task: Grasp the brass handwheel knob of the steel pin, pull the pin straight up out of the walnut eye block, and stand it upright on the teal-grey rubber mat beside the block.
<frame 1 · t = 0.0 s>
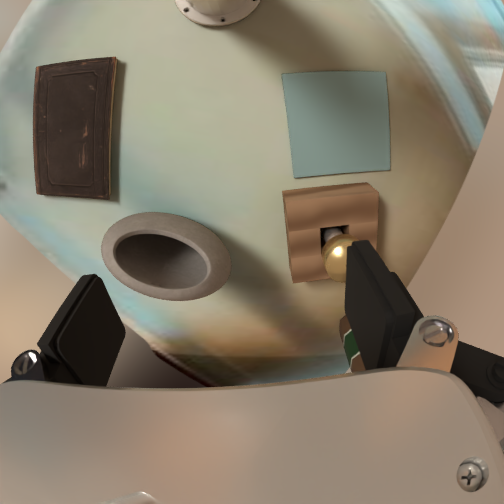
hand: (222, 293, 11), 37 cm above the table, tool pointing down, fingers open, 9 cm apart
hardcover book: (74, 127, 41), on the table
pin: (336, 242, 45), in the eye block
mat: (340, 122, 42), on the table
beer bottle: (354, 321, 61), on the table
eye block: (327, 226, 50), on the table
planter: (180, 222, 50), on the table
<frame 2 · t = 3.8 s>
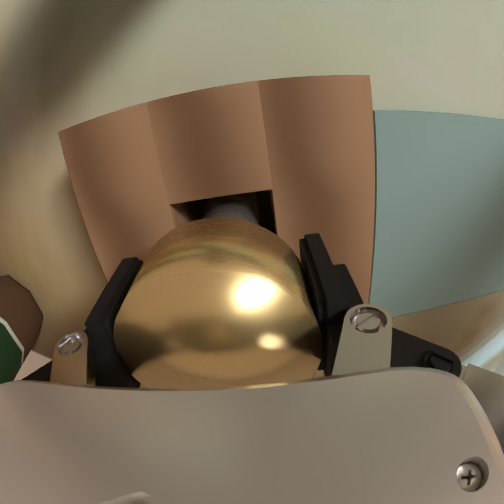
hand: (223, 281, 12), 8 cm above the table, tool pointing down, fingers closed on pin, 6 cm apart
pin: (227, 253, 13), in the eye block, touching gripper
mat: (463, 219, 19), on the table
beer bottle: (16, 303, 23), on the table
eye block: (232, 204, 19), on the table
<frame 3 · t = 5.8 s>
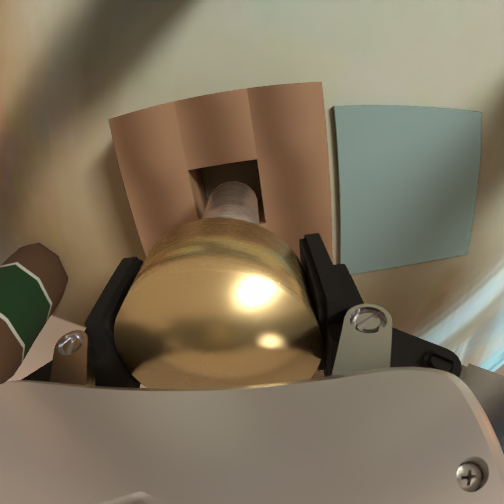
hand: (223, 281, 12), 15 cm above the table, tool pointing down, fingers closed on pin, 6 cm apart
pin: (227, 253, 13), point 13 cm above the table, touching gripper
mat: (416, 190, 26), on the table
beer bottle: (43, 269, 29), on the table
eye block: (230, 177, 25), on the table
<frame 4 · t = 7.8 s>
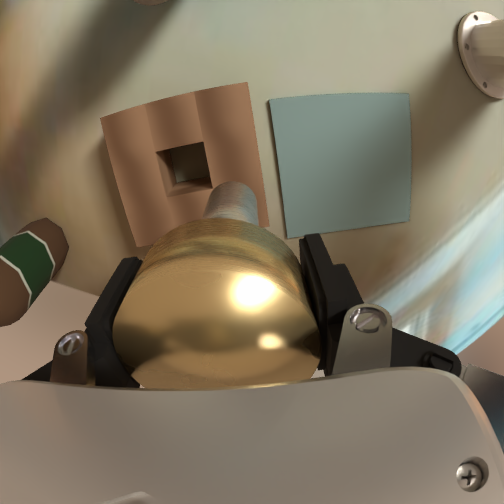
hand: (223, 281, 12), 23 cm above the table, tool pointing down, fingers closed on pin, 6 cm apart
pin: (226, 253, 13), point 21 cm above the table, touching gripper
mat: (349, 163, 32), on the table
beer bottle: (48, 240, 36), on the table
eye block: (192, 158, 32), on the table
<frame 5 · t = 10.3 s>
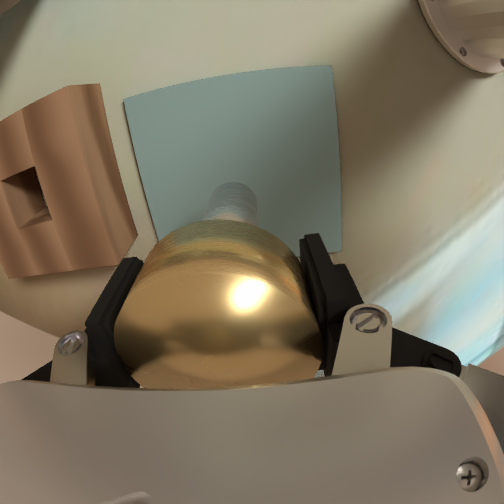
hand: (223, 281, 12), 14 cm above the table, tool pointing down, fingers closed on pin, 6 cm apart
pin: (227, 255, 13), point 12 cm above the table, touching gripper
mat: (240, 174, 24), on the table
eye block: (55, 179, 24), on the table
when the fingers open (9 cm above the table, at t = 12.1 s): pin stays where it is, resting on mat.
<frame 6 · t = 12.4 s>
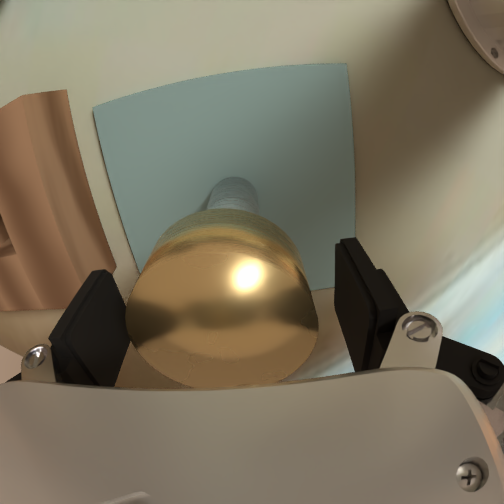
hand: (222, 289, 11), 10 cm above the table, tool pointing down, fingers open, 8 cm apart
pin: (229, 244, 14), on the mat
mat: (233, 197, 20), on the table
eye block: (23, 202, 19), on the table
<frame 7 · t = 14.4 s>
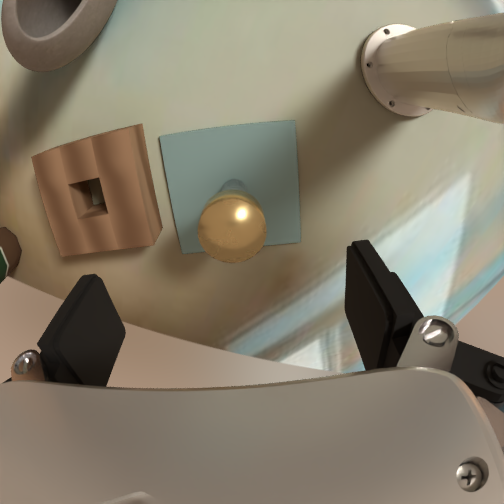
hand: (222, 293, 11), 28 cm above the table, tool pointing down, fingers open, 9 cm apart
pin: (233, 208, 32), on the mat
mat: (233, 189, 38), on the table
beer bottle: (7, 245, 40), on the table
eye block: (103, 186, 36), on the table
planter: (107, 7, 25), on the table
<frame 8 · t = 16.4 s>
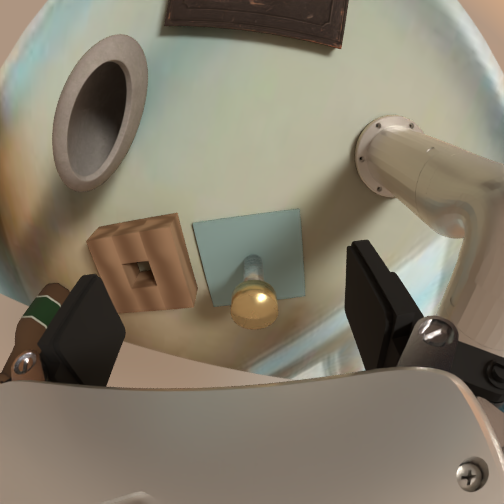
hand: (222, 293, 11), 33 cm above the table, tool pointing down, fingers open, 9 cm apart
pin: (253, 284, 44), on the mat
mat: (252, 261, 49), on the table
beer bottle: (60, 296, 53), on the table
eye block: (147, 258, 49), on the table
planter: (133, 106, 37), on the table
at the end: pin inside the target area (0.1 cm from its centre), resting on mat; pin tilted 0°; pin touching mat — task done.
